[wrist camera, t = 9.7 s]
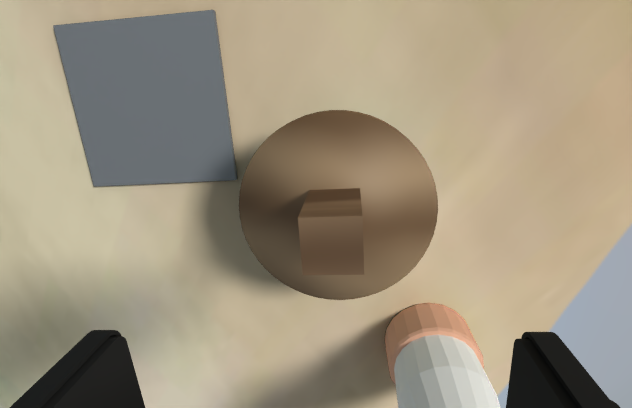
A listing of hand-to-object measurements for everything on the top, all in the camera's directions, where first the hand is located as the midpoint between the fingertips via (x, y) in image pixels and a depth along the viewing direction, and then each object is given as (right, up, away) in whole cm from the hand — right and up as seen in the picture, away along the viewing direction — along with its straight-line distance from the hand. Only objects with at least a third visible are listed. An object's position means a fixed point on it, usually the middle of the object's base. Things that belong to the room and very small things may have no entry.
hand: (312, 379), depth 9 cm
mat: (-13, +12, +19) cm, 25 cm away
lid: (+1, +4, +14) cm, 15 cm away
